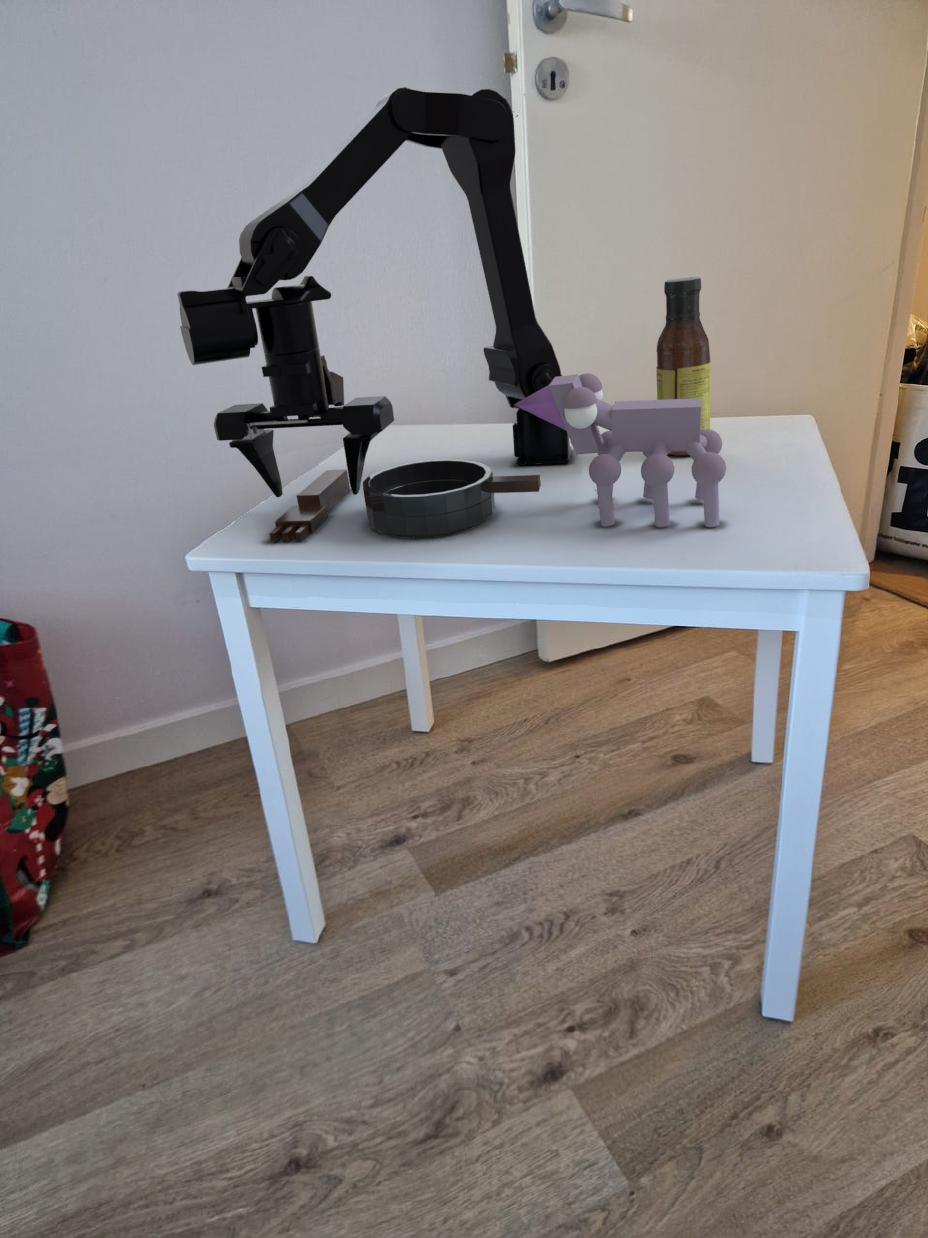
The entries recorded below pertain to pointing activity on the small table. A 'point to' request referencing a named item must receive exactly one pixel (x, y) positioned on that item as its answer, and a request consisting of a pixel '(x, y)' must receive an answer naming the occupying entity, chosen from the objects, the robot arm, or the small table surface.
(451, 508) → the pan
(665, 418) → the toy sheep
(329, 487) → the fork
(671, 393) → the sauce bottle
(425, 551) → the small table surface
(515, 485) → the pan handle
